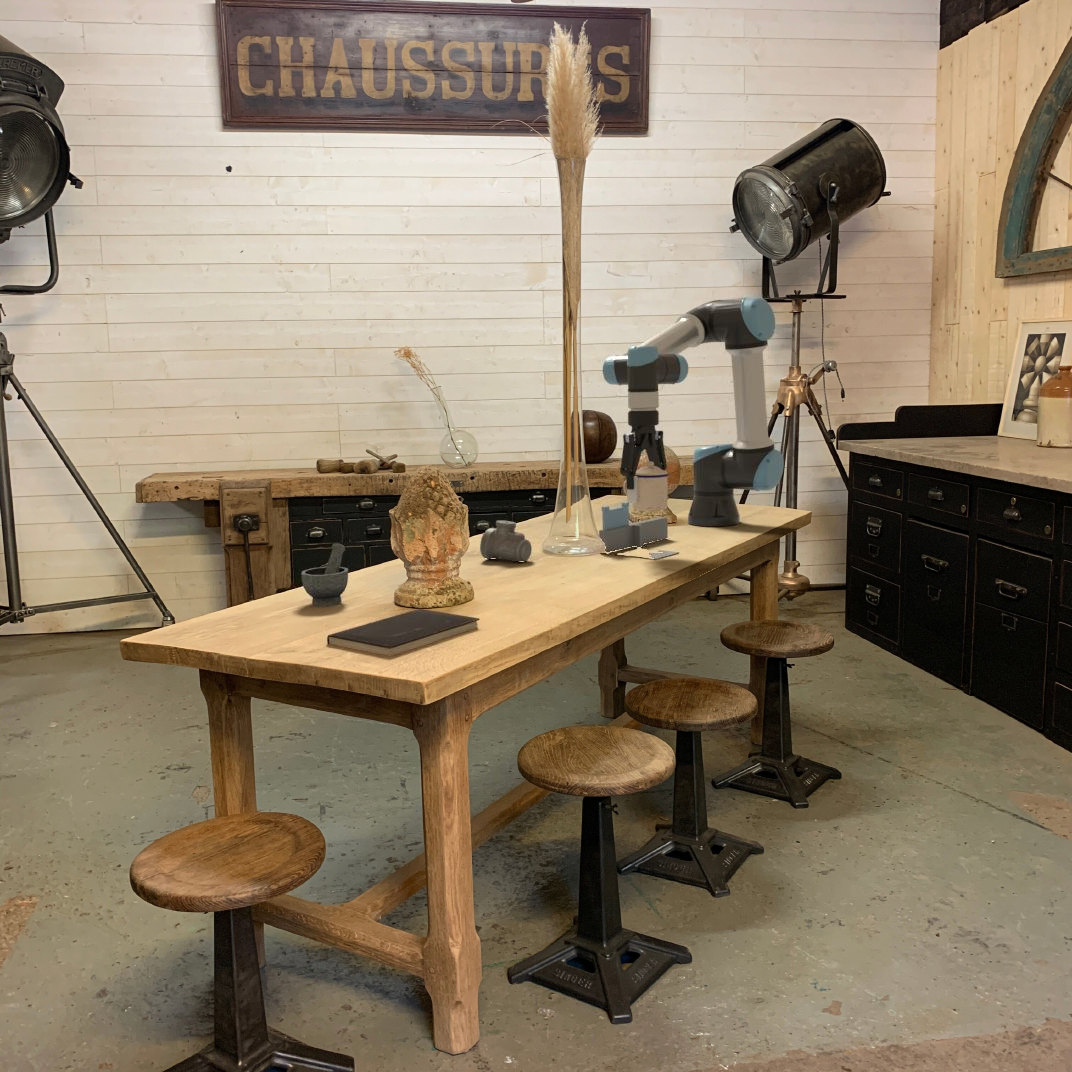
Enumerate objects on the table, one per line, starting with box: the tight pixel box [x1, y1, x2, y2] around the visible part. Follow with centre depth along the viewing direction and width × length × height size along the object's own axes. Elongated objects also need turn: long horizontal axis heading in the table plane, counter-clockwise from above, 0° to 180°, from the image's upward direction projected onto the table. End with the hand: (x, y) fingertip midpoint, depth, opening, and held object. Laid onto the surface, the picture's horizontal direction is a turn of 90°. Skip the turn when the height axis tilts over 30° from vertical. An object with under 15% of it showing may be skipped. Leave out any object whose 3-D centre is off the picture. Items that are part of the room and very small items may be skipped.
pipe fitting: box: [479, 520, 533, 562], centre depth 257 cm, size 12×8×10 cm
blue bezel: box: [601, 501, 630, 531], centre depth 265 cm, size 10×1×6 cm, turn 138°
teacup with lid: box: [622, 461, 669, 512], centre depth 257 cm, size 12×9×12 cm
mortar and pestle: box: [300, 543, 349, 608], centre depth 216 cm, size 11×9×12 cm
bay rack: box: [598, 516, 680, 560], centre depth 267 cm, size 27×17×6 cm, turn 138°
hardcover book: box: [326, 608, 480, 657], centre depth 188 cm, size 16×23×2 cm
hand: (644, 500), depth 258 cm, fingers closed on teacup with lid, 9 cm apart
